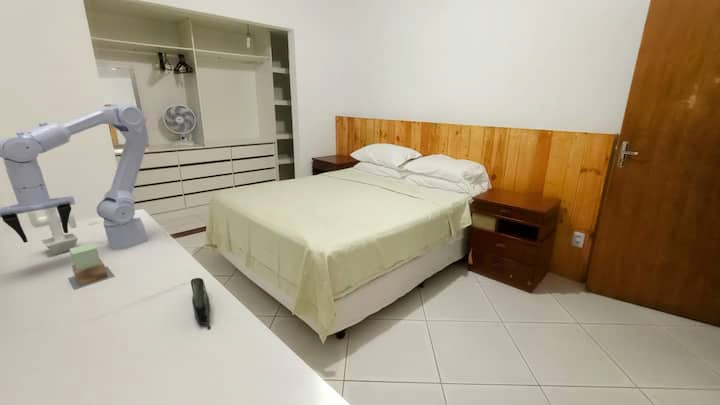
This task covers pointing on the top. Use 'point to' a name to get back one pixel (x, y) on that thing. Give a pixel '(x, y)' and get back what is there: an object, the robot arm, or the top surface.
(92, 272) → the walnut block
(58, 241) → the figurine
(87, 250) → the green cube
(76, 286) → the base tile
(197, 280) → the dark grey elongated piece
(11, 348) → the top surface
